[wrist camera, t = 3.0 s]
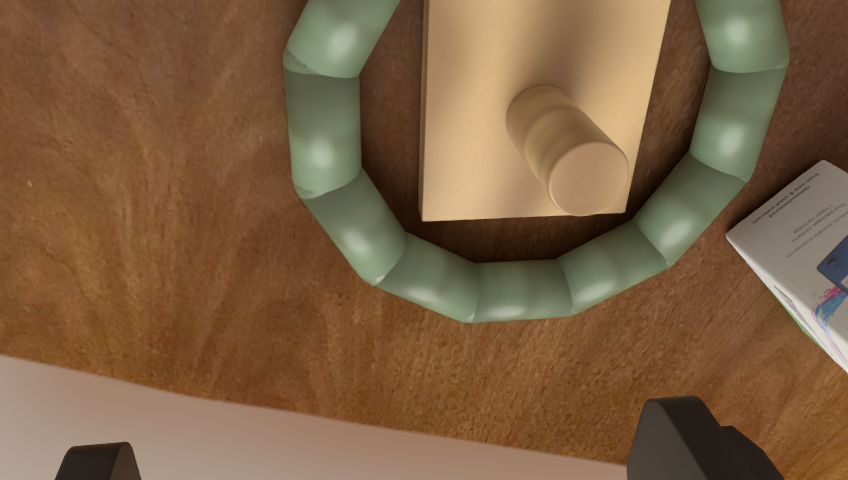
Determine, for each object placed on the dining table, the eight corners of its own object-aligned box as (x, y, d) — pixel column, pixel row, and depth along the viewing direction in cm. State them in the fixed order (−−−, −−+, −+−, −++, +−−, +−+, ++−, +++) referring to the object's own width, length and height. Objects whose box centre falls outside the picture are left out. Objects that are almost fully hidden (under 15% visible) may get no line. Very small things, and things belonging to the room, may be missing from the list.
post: (417, 207, 25) (444, 302, 20) (423, -11, 21) (459, 37, 16) (613, 199, 26) (687, 287, 21) (656, -10, 22) (761, 36, 17)
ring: (305, 308, 27) (304, 346, 25) (264, -187, 18) (258, -190, 16) (691, 285, 29) (719, 318, 27) (825, -164, 20) (882, -165, 18)
